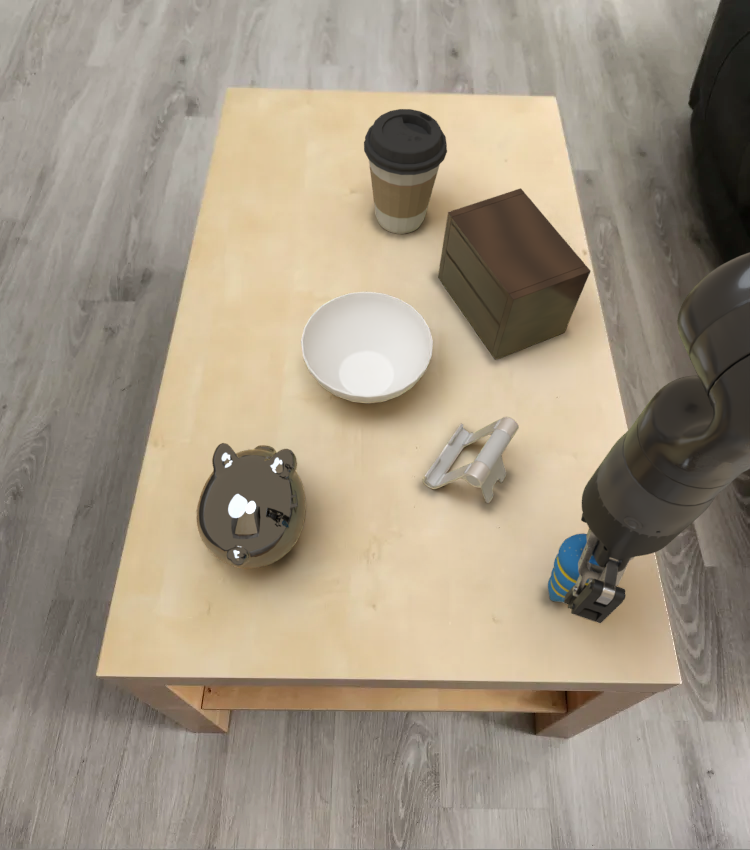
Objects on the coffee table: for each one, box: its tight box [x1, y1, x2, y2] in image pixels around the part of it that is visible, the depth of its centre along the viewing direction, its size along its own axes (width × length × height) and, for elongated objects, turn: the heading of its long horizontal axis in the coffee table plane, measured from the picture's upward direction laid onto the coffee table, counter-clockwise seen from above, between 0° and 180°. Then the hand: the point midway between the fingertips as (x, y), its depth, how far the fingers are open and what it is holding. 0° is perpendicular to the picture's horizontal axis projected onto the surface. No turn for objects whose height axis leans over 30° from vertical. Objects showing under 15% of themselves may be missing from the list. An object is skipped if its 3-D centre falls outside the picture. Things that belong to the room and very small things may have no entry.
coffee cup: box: [363, 108, 448, 235], centre depth 97 cm, size 11×11×15 cm
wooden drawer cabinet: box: [437, 188, 591, 361], centre depth 90 cm, size 11×16×12 cm
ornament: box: [547, 533, 599, 603], centre depth 68 cm, size 5×5×15 cm
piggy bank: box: [196, 442, 307, 570], centre depth 72 cm, size 11×15×12 cm
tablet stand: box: [422, 416, 520, 504], centre depth 78 cm, size 9×8×8 cm
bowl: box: [300, 290, 434, 404], centre depth 85 cm, size 16×16×7 cm
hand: (583, 560), depth 64 cm, fingers open, 8 cm apart
